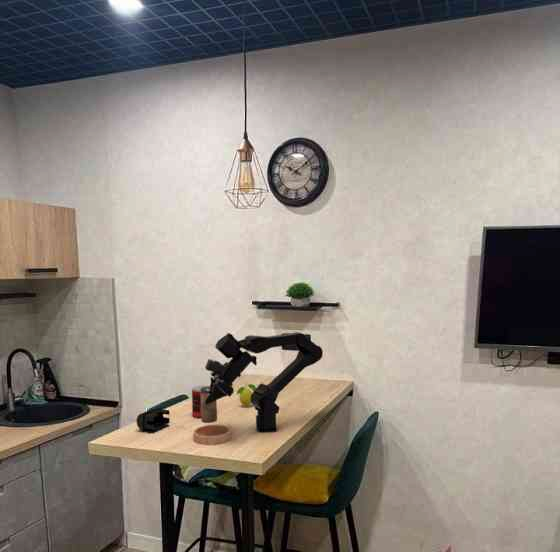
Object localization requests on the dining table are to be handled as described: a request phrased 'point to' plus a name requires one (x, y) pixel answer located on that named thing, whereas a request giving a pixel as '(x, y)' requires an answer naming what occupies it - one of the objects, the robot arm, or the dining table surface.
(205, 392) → the pepper mill
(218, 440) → the terracotta dish
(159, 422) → the end cap
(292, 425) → the dining table surface
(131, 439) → the dining table surface
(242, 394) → the lemon
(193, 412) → the canned food
